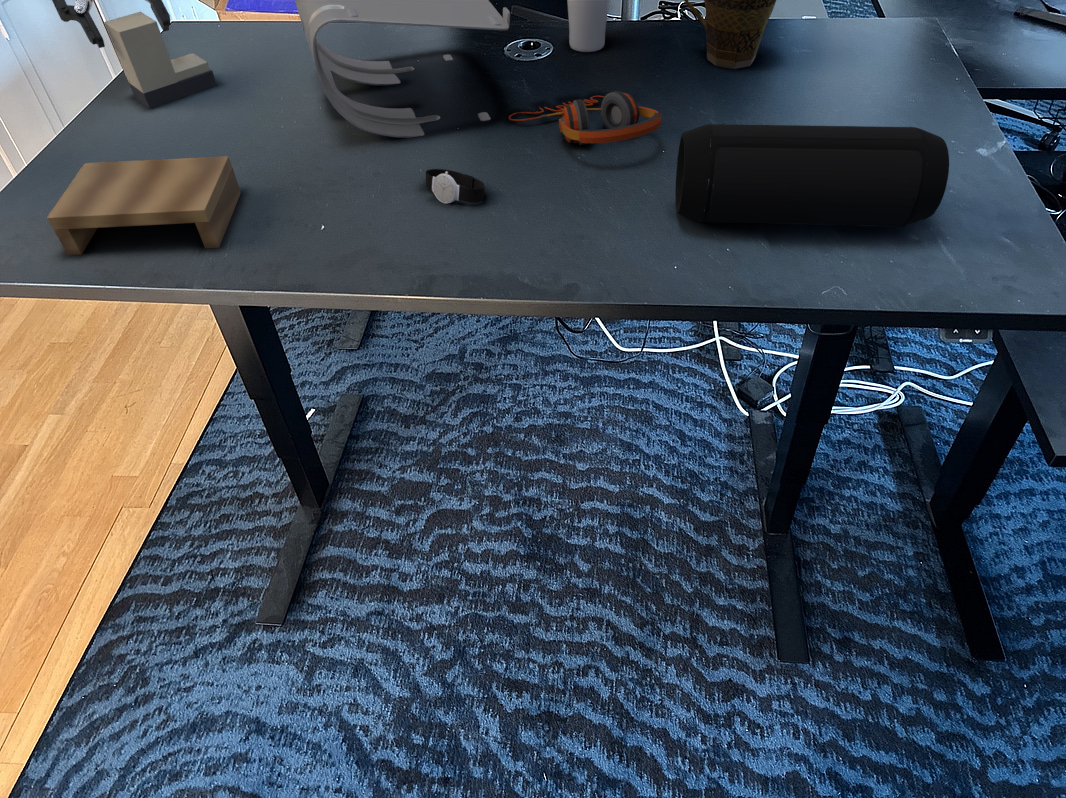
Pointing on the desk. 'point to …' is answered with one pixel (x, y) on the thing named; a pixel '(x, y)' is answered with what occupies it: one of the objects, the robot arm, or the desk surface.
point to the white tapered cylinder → (587, 24)
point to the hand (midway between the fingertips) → (134, 36)
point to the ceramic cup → (734, 30)
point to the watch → (454, 186)
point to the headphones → (616, 116)
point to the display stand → (147, 198)
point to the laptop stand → (396, 4)
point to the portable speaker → (810, 174)
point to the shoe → (155, 62)
